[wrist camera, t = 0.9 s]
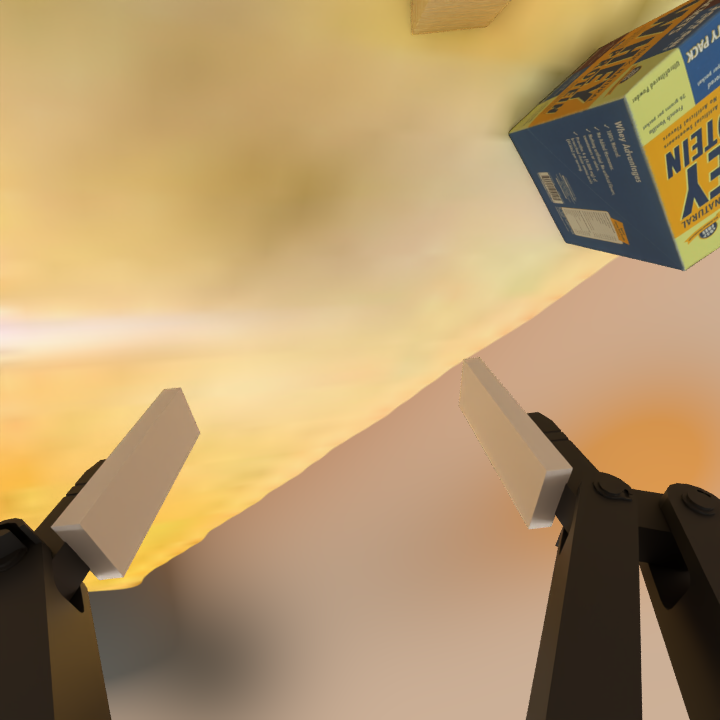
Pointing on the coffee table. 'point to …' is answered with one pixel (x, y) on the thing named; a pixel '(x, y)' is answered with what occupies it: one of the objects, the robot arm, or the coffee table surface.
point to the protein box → (636, 142)
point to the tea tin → (453, 14)
